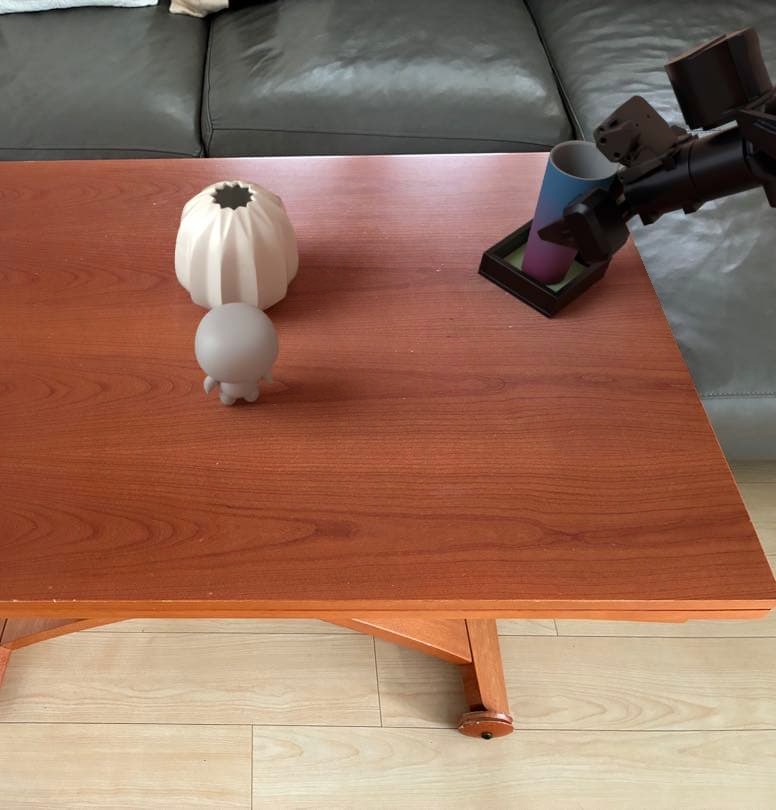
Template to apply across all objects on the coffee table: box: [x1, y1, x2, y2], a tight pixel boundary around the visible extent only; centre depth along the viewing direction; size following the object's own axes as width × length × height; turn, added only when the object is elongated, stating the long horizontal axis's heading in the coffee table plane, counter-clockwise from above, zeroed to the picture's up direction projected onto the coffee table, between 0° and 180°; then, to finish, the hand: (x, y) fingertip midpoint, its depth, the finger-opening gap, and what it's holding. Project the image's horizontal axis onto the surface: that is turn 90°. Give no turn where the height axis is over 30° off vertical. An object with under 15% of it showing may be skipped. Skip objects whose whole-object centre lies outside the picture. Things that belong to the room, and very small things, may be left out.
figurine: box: [194, 303, 280, 406], centre depth 76 cm, size 8×8×12 cm
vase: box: [174, 179, 300, 312], centre depth 86 cm, size 14×14×13 cm
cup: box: [521, 139, 621, 285], centre depth 84 cm, size 7×7×15 cm
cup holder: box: [477, 218, 613, 320], centre depth 89 cm, size 10×10×3 cm
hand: (563, 214), depth 83 cm, fingers open, 9 cm apart
